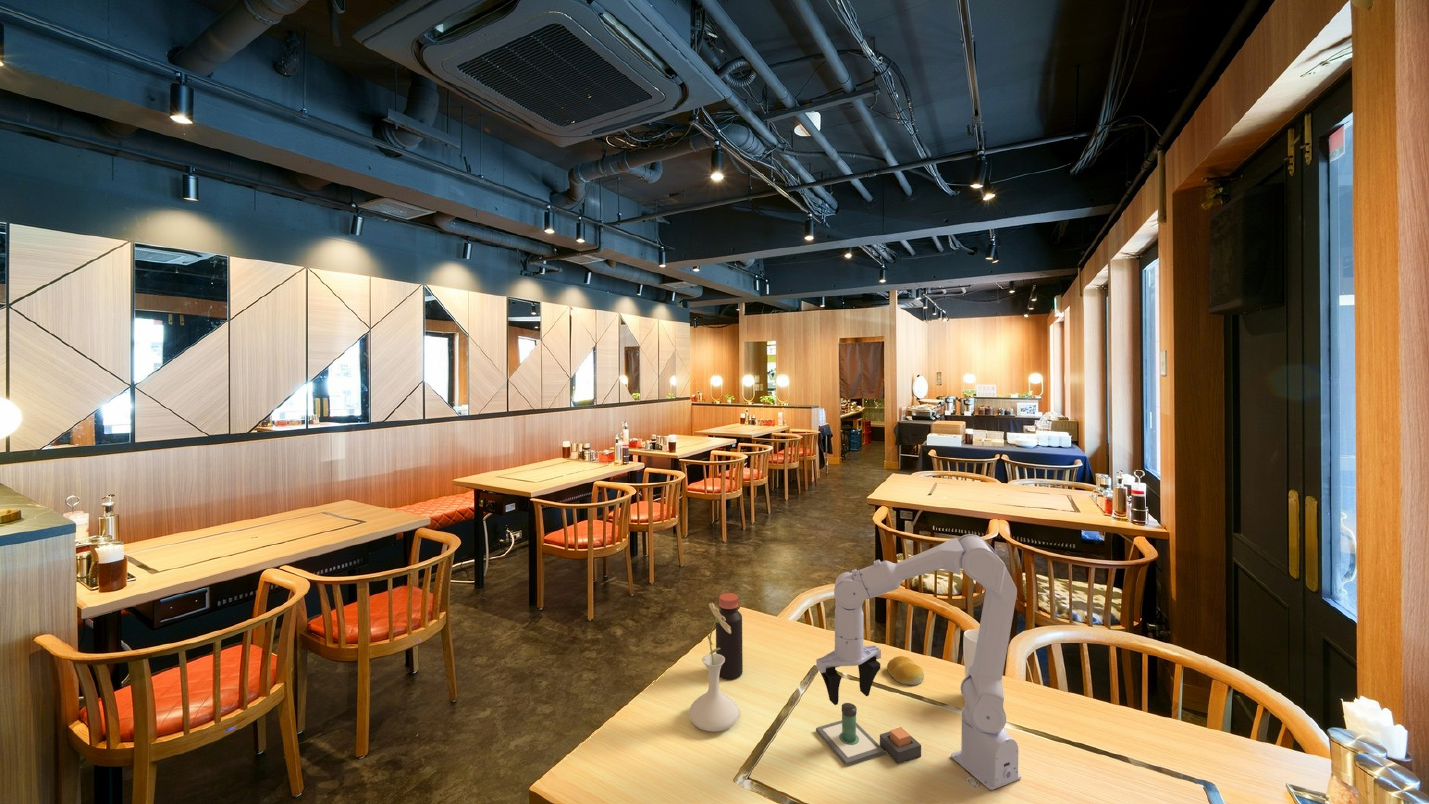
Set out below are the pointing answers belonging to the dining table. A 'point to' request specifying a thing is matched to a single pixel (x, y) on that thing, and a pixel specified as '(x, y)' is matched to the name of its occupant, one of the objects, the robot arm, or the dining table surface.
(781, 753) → the dining table surface
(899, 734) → the button
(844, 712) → the marker
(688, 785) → the dining table surface
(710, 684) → the flower in vase
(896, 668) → the bread roll
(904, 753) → the button housing
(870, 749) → the board
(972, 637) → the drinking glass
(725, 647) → the bottle
